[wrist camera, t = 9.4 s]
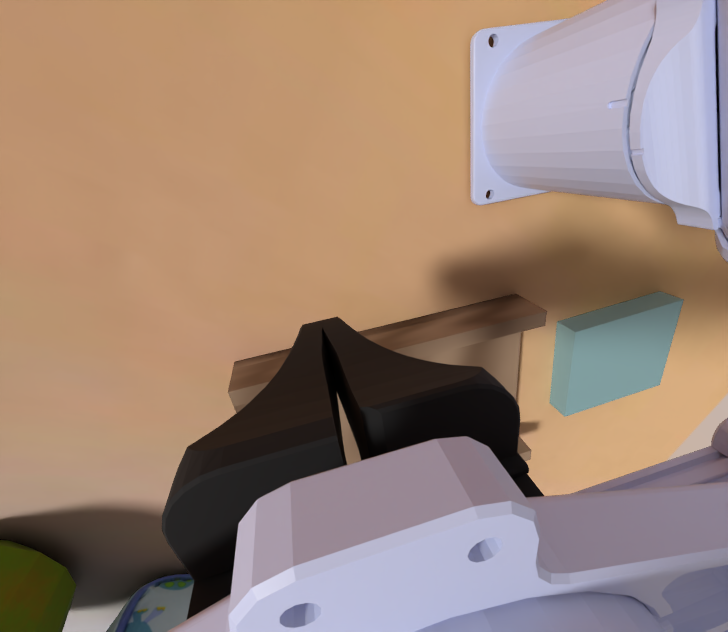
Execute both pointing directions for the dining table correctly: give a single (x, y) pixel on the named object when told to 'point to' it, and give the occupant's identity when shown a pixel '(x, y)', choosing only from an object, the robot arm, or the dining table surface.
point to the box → (425, 350)
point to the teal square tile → (612, 351)
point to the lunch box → (156, 606)
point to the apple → (32, 590)
